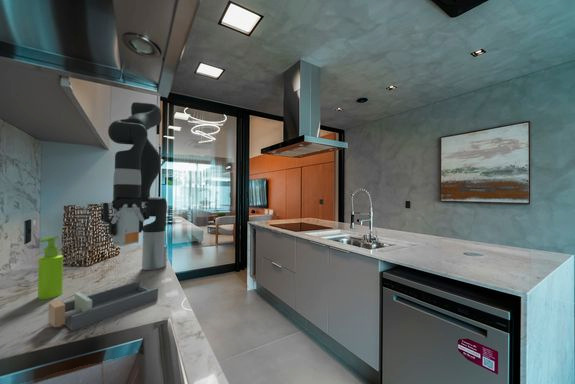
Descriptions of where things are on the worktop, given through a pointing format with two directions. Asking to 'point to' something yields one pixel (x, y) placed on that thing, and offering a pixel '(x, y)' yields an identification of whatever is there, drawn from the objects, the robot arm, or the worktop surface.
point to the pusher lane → (110, 304)
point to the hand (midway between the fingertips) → (126, 233)
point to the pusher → (58, 311)
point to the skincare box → (126, 227)
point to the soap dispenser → (50, 271)
